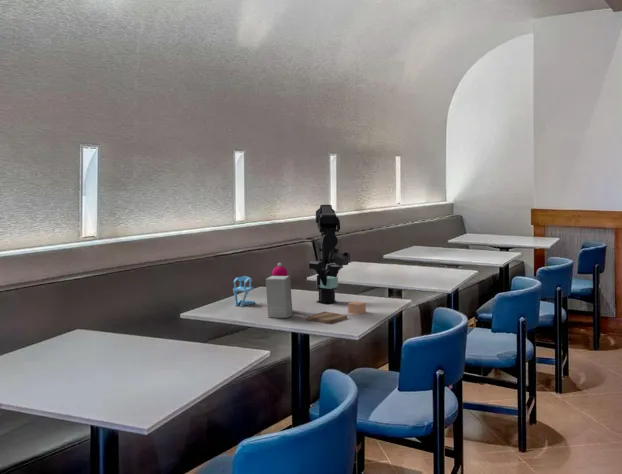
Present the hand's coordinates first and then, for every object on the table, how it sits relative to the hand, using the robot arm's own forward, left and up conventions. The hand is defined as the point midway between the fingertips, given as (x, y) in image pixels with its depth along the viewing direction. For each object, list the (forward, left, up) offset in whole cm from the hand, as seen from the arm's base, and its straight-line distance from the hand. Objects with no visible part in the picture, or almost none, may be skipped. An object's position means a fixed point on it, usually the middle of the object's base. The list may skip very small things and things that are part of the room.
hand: (329, 284), depth 240 cm
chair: (-40, -10, -12) cm, 42 cm away
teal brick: (0, 0, -1) cm, 1 cm away
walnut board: (+6, -9, -11) cm, 16 cm away
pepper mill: (-18, -10, -12) cm, 23 cm away
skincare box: (-12, -17, -12) cm, 24 cm away
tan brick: (+8, +7, -12) cm, 16 cm away
